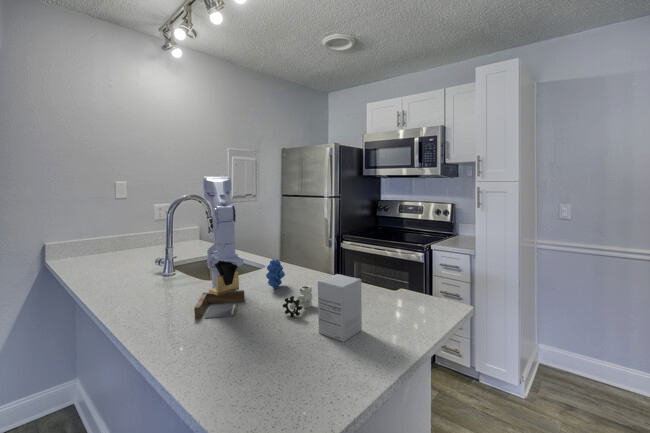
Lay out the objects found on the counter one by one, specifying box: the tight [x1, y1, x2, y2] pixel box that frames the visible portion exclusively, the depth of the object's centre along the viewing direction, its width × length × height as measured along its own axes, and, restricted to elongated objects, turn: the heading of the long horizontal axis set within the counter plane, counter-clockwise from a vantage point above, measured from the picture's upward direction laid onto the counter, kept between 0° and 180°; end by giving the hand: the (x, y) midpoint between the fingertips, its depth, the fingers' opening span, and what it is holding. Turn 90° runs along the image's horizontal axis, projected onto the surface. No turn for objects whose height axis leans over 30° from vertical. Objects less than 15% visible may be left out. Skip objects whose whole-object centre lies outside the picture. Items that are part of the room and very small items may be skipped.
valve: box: [282, 285, 313, 318], centre depth 107 cm, size 7×7×12 cm
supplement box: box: [317, 273, 363, 343], centre depth 91 cm, size 9×9×15 cm
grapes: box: [265, 258, 286, 289], centre depth 128 cm, size 12×7×12 cm, turn 162°
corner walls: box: [193, 289, 246, 320], centre depth 109 cm, size 14×14×4 cm
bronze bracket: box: [208, 271, 240, 296], centre depth 108 cm, size 8×5×6 cm, turn 143°
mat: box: [204, 302, 239, 320], centre depth 107 cm, size 11×9×1 cm
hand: (227, 284), depth 106 cm, fingers closed on bronze bracket
